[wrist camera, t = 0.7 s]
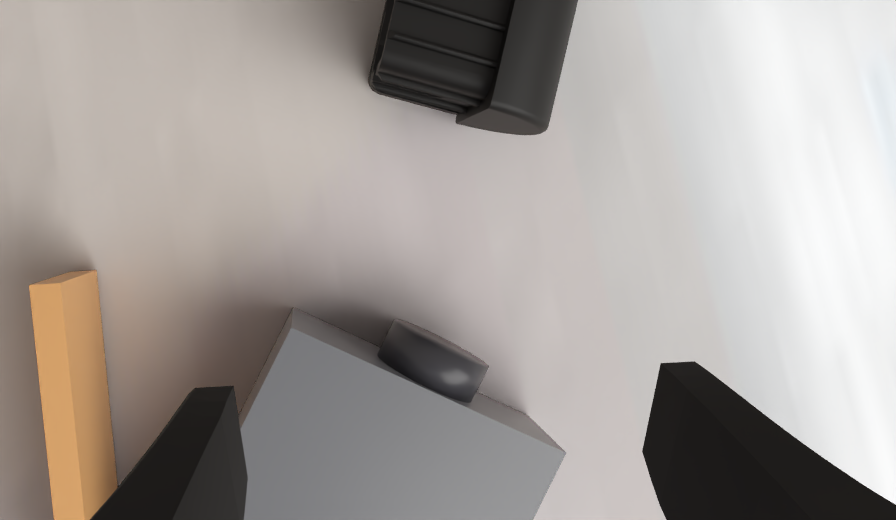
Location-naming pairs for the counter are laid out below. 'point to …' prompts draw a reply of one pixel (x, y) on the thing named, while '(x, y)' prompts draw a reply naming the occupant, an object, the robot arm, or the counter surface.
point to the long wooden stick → (74, 393)
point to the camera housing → (385, 432)
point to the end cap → (475, 59)
